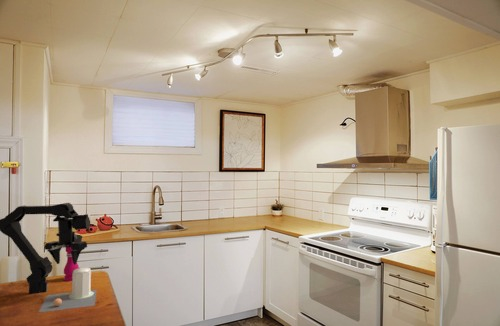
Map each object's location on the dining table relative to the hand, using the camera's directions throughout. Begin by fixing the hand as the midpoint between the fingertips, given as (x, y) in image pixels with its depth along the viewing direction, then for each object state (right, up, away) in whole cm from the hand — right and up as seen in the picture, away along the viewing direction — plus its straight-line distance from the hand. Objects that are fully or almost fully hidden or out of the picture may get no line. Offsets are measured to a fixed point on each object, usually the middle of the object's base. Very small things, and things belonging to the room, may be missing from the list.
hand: (66, 264), depth 158 cm
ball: (+6, -10, -18) cm, 22 cm away
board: (+8, -13, -12) cm, 19 cm away
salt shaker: (+10, -12, -6) cm, 16 cm away
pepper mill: (-8, -14, +19) cm, 25 cm away
